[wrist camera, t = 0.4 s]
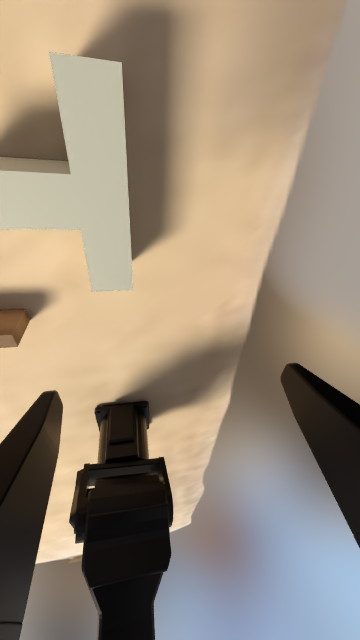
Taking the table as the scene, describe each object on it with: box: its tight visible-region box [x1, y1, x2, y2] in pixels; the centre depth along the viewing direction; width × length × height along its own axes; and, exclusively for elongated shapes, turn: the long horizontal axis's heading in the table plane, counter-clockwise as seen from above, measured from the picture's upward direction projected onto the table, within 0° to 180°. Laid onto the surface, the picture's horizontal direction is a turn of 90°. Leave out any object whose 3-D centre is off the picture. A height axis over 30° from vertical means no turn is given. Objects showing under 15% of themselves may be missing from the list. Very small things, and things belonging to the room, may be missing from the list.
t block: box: [0, 52, 133, 292], centre depth 13 cm, size 10×8×4 cm
